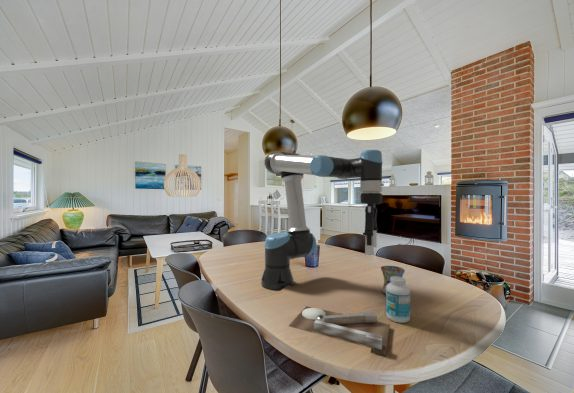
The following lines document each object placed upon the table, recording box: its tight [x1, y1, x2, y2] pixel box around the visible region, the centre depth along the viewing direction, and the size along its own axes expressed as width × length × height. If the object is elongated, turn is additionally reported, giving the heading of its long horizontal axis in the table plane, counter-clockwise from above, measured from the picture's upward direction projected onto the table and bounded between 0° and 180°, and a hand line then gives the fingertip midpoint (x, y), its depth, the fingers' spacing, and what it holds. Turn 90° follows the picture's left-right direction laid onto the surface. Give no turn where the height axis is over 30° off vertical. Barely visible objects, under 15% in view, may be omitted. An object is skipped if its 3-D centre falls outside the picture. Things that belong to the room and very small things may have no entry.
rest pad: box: [301, 307, 326, 320], centre depth 82 cm, size 8×8×1 cm
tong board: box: [288, 305, 391, 357], centre depth 75 cm, size 28×15×4 cm, turn 63°
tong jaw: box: [317, 311, 378, 325], centre depth 76 cm, size 19×3×3 cm, turn 98°
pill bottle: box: [385, 276, 411, 324], centre depth 82 cm, size 8×7×14 cm
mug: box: [380, 265, 405, 295], centre depth 104 cm, size 12×9×11 cm
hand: (371, 250), depth 89 cm, fingers open, 13 cm apart
